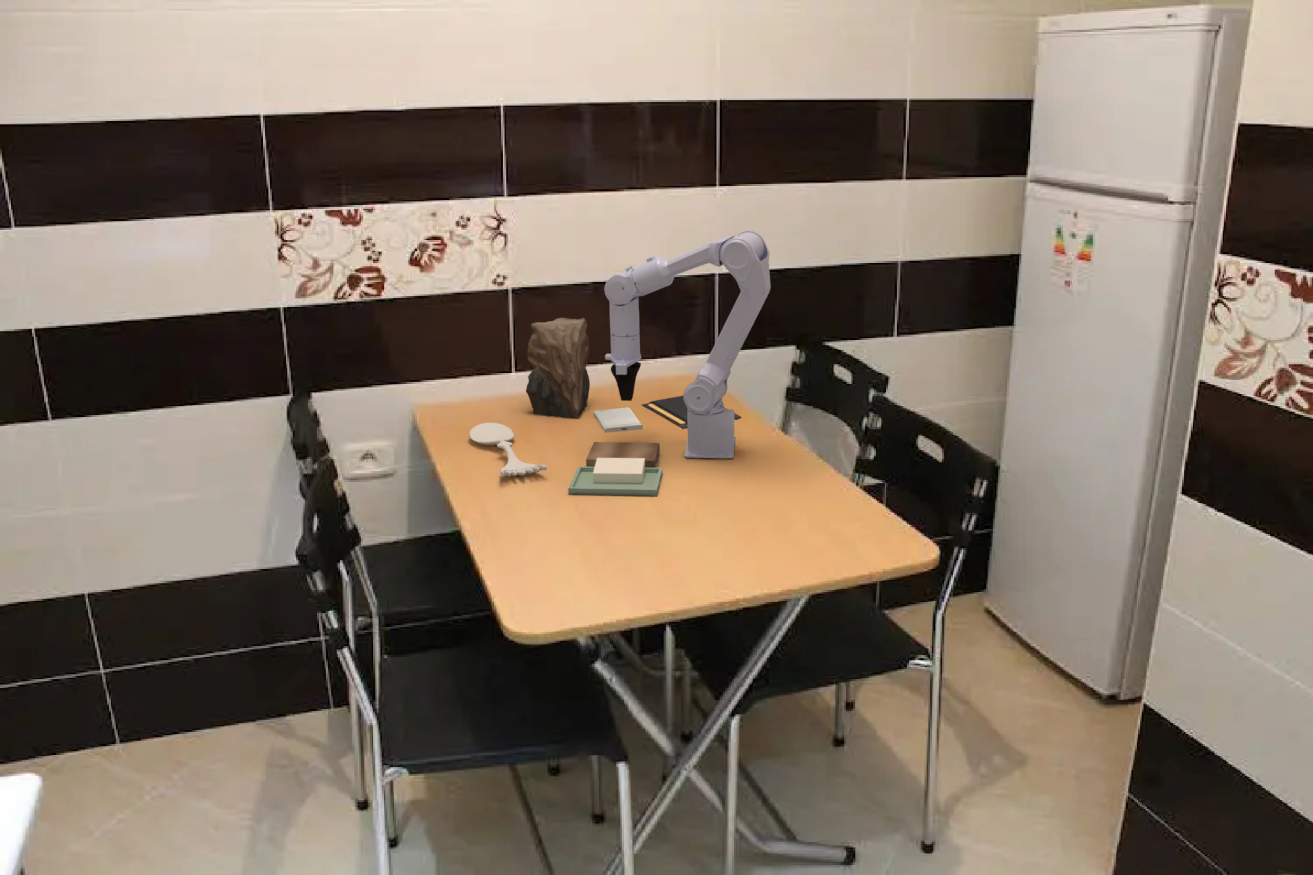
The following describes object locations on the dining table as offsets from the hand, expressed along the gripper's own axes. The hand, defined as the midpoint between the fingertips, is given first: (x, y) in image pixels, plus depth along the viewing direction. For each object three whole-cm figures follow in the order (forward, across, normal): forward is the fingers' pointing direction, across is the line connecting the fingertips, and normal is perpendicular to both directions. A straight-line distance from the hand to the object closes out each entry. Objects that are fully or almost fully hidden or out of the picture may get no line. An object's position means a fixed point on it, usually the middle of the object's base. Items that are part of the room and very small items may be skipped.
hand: (626, 399), depth 224 cm
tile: (+9, +20, +1) cm, 21 cm away
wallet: (+10, -22, +11) cm, 27 cm away
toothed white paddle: (+10, +8, -24) cm, 27 cm away
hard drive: (+10, -14, -4) cm, 18 cm away
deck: (+9, +11, 0) cm, 14 cm away
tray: (+9, +22, 0) cm, 24 cm away
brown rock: (+10, -21, -17) cm, 29 cm away
